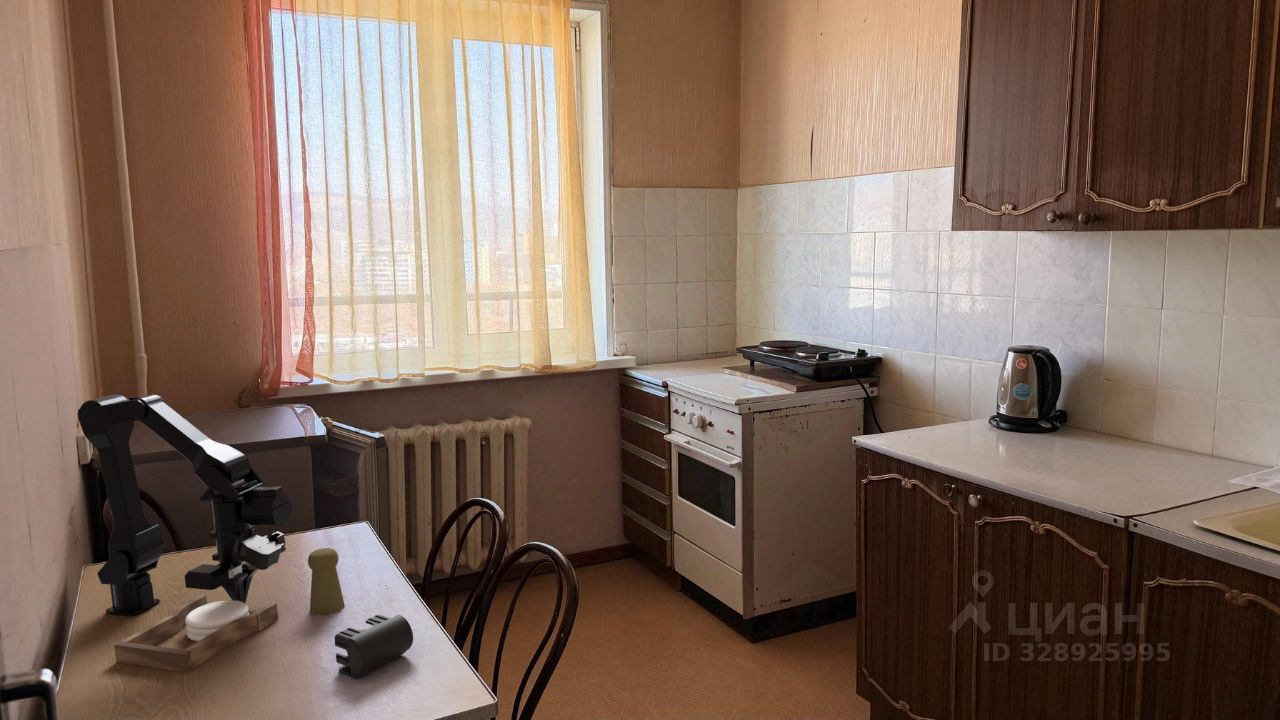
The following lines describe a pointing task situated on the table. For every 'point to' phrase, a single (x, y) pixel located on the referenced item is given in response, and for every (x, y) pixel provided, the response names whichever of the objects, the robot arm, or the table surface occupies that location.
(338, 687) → the table surface
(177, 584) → the table surface
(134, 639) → the wooden u-shaped frame
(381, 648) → the end cap
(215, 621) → the coaster
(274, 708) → the table surface
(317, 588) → the cork
